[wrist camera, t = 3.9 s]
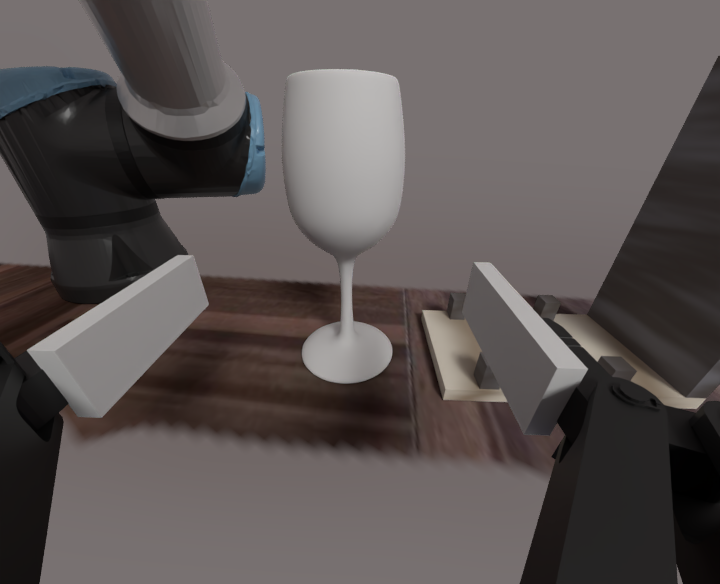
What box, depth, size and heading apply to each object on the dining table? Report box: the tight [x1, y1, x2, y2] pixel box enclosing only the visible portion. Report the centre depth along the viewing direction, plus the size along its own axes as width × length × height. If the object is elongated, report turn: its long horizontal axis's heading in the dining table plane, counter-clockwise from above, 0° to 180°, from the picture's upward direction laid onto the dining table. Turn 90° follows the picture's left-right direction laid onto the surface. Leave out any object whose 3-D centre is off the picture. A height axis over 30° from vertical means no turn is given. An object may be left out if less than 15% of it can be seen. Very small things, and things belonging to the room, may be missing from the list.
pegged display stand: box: [421, 56, 720, 409], centre depth 21 cm, size 20×11×23 cm, turn 88°
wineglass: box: [282, 69, 405, 384], centre depth 22 cm, size 9×9×21 cm
